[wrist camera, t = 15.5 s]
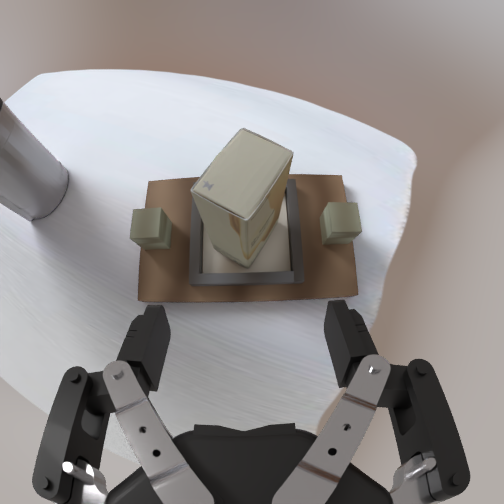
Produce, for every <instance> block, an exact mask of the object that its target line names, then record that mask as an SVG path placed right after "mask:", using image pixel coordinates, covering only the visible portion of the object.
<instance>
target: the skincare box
mask: <svg viewBox="0 0 504 504" xmlns="http://www.w3.org/2000/svg"><path fill="white" fill-rule="evenodd" d="M292 158H293V152H292V151H291V150H289V149H287V148H285V147H283V146H281V145H279V144H277V143H275V142H273V141H271V140H269V139H267V138H265V137H263V136H261V135H259V134H256V133H254V132H252V131H250V130H247V129H245V128H242V129H240V130H239V131H238V132H237V133H236V134H235V136H234V137H233V138H232V139H231V140H230V141H229V142H228V144H227V145H226V146H225V147H224V148H223V149H222V151H221V152H220V153H219V154H218V155H217V156H216V157H215V159H214V160H213V162H212V163H211V164H210V165H209V167H208V168H207V169H206V170H205V172H204V173H203V174H202V175H201V177H200V178H199V179H198V181H197V182H196V183H195V184H194V186H193V187H192V188H191V193H192V196H193V198H194V201H195V203H196V206H197V208H198V211H199V213H200V216H201V218H202V221H203V223H204V225H205V228H206V231H207V233H208V235H209V238H210V240H211V243H212V245H213V248H214V249H215V250H217V251H218V252H220V253H221V254H223V255H224V256H226V257H228V258H229V259H231V260H232V261H234V262H236V263H238V264H239V265H241V266H243V267H245V268H247V269H248V268H250V266H251V265H252V263H253V262H254V260H255V259H256V257H257V256H258V254H259V253H260V251H261V250H262V248H263V247H264V245H265V243H266V242H267V240H268V238H269V237H270V235H271V233H272V231H273V230H274V228H275V226H276V225H277V223H278V220H279V215H280V211H281V206H282V202H283V197H284V193H285V189H286V184H287V180H288V175H289V171H290V166H291V162H292Z"/></svg>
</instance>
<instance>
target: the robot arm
mask: <svg viewBox="0 0 504 504" xmlns="http://www.w3.org/2000/svg"><path fill="white" fill-rule="evenodd" d="M67 185H68V172H67V170H66V168H65V167H64V166H63V165H62V164H61V163H60V162H59V161H58V160H57V159H56V158H55V157H54V156H53V155H52V154H51V153H50V152H49V151H48V150H47V149H46V148H45V147H44V146H43V145H42V144H41V143H40V142H39V141H38V139H37V138H36V137H35V136H34V135H33V134H32V133H31V132H30V131H29V130H28V129H27V128H26V127H25V126H24V124H23V123H22V122H21V121H20V120H19V119H18V118H17V117H16V116H15V115H14V113H13V112H12V111H11V110H10V109H9V108H8V106H7V105H6V104H5V103H4V102H3V101H2V100H1V98H0V203H1V204H3V205H4V206H6V207H7V208H9V209H10V210H12V211H14V212H15V213H17V214H19V215H20V216H22V217H23V218H25V219H27V220H28V221H32V220H33V219H34V218H43V217H45V216H47V215H49V214H50V213H51V212H52V211H53V210H54V209H55V208H56V207H57V206H58V204H59V203H60V201H61V200H62V198H63V196H64V194H65V191H66V189H67ZM324 334H325V338H326V342H327V345H328V349H329V352H330V356H331V359H332V363H333V367H334V370H335V374H336V378H337V382H338V385H339V388H342V387H347V390H346V392H345V394H344V395H343V396H342V398H341V400H340V401H339V403H338V405H337V406H336V408H335V410H334V412H333V413H332V415H331V417H330V418H329V420H328V421H327V423H326V425H325V426H324V428H323V430H322V431H321V433H320V434H319V436H316V435H315V434H312V433H310V432H307V431H304V430H300V429H295V423H289V424H276V425H268V426H264V427H260V428H256V429H252V430H248V431H240V430H235V429H231V428H227V427H222V426H217V425H196V424H194V430H193V431H188V432H185V433H182V434H180V435H178V436H176V437H174V438H173V437H172V435H171V434H170V432H169V431H168V429H167V428H166V426H165V425H164V423H163V422H162V420H161V418H160V417H159V415H158V413H157V412H156V410H155V408H154V407H153V405H152V403H151V401H150V400H149V398H148V395H149V391H157V390H158V386H159V381H160V377H161V373H162V369H163V365H164V361H165V357H166V353H167V349H168V345H169V341H170V335H171V332H170V326H169V323H168V320H167V316H166V313H165V309H164V307H163V306H162V305H148V306H147V307H146V310H145V312H144V315H138V316H137V317H136V318H135V319H134V320H133V321H132V323H131V325H130V328H129V331H128V332H127V335H126V338H125V340H124V342H123V344H122V347H121V349H120V352H119V355H118V357H117V360H116V361H114V362H111V363H110V364H108V365H107V366H106V367H105V369H104V371H100V372H94V373H87V371H86V370H85V369H84V368H82V367H79V366H76V367H72V368H70V369H69V370H67V372H66V373H65V374H64V376H63V379H62V381H61V384H60V386H59V389H58V392H57V394H56V397H55V400H54V403H53V406H52V408H51V411H50V414H49V417H48V420H47V424H46V427H45V430H44V433H43V437H42V440H41V444H40V448H39V452H38V456H37V459H36V464H35V468H34V473H33V478H32V483H33V487H34V489H35V491H36V492H37V494H39V495H40V496H41V497H43V498H45V499H47V500H50V501H52V502H54V503H55V504H437V503H440V502H442V501H445V500H447V499H450V498H452V497H454V496H456V495H459V494H460V493H462V492H463V491H464V490H465V489H466V488H467V486H468V484H469V481H470V471H469V467H468V464H467V460H466V456H465V453H464V449H463V446H462V443H461V440H460V436H459V433H458V430H457V428H456V425H455V422H454V419H453V416H452V413H451V411H450V408H449V405H448V403H447V400H446V397H445V395H444V392H443V390H442V388H441V385H440V383H439V380H438V378H437V376H436V373H435V371H434V369H433V367H432V365H431V364H430V363H429V362H427V361H426V360H423V359H415V360H412V361H411V362H410V363H409V365H408V366H400V365H392V364H389V362H388V361H387V360H386V359H385V358H384V357H382V356H379V354H378V352H377V350H376V348H375V345H374V343H373V341H372V338H371V336H370V334H369V332H368V329H367V327H366V325H365V323H364V320H363V318H362V316H361V315H360V314H359V313H358V312H357V311H356V310H355V309H351V310H349V309H348V307H347V304H346V302H345V300H334V301H329V302H328V306H327V311H326V316H325V322H324ZM377 407H386V408H388V410H389V414H390V417H391V421H392V425H393V429H394V433H395V437H396V442H397V446H398V451H399V455H400V460H401V466H400V467H399V468H398V469H397V470H396V472H395V474H394V478H393V487H392V489H391V491H390V492H388V491H387V490H386V489H385V488H384V487H383V486H381V485H380V484H378V483H377V482H376V481H374V480H373V479H371V478H370V477H369V476H367V475H366V474H365V473H363V472H362V471H361V470H359V469H358V468H357V467H355V466H354V465H353V464H352V463H350V461H351V459H352V457H353V456H354V454H355V452H356V450H357V448H358V446H359V445H360V442H361V441H362V439H363V437H364V434H365V432H366V430H367V429H368V427H369V424H370V422H371V420H372V418H373V416H374V413H375V411H376V408H377ZM113 412H115V414H116V417H117V419H118V421H119V423H120V426H121V428H122V430H123V432H124V434H125V436H126V438H127V440H128V442H129V444H130V446H131V448H132V450H133V451H134V453H135V455H136V457H137V459H138V461H139V462H140V464H141V467H139V468H138V469H137V470H136V471H135V472H134V473H132V474H131V475H130V476H129V477H127V478H126V479H125V480H124V481H122V482H121V483H120V484H119V485H118V486H116V487H115V488H114V489H112V490H111V491H110V492H109V493H108V491H107V489H106V480H105V477H104V475H103V474H102V473H101V472H100V471H99V468H100V462H101V455H102V450H103V445H104V440H105V435H106V430H107V426H108V421H109V417H110V413H113Z"/></svg>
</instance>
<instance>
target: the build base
mask: <svg viewBox="0 0 504 504" xmlns="http://www.w3.org/2000/svg"><path fill="white" fill-rule="evenodd" d="M199 178H200V177H194V178H181V179H169V180H158V181H149V182H148V189H147V196H146V203H145V209H134V210H133V216H132V224H131V232H130V239H131V240H133V241H134V242H135V243H137V244H138V245H139V246H140V247H141V251H140V265H139V283H138V301H142V302H255V301H283V300H304V299H321V298H336V297H350V296H356V295H358V286H357V275H356V265H355V257H354V248H353V241H352V240H353V239H355V238H356V237H357V236H358V235H359V234H360V233H361V232H362V229H361V222H360V216H359V211H358V205H357V203H348V202H347V201H346V196H345V190H344V185H343V180H342V175H311V174H289V175H288V180H287V184H286V189H285V193H284V197H283V202H282V206H281V211H280V215H279V220H278V223H277V225H276V226H275V228H274V230H273V231H272V233H271V235H270V237H269V238H268V240H267V242H266V243H265V245H264V247H263V248H262V250H261V251H260V253H259V254H258V256H257V257H256V259H255V260H254V262H253V263H252V265H251V266H250V268H248V269H247V268H245V267H243V266H241V265H239V264H238V263H236V262H234V261H232V260H231V259H229V258H228V257H226V256H224V255H223V254H221V253H220V252H218V251H217V250H215V249H214V248H213V245H212V243H211V240H210V238H209V235H208V233H207V231H206V228H205V225H204V223H203V221H202V218H201V216H200V213H199V211H198V208H197V206H196V203H195V201H194V198H193V196H192V193H191V188H192V187H193V186H194V184H195V183H196V182H197V181H198V179H199Z"/></svg>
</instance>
